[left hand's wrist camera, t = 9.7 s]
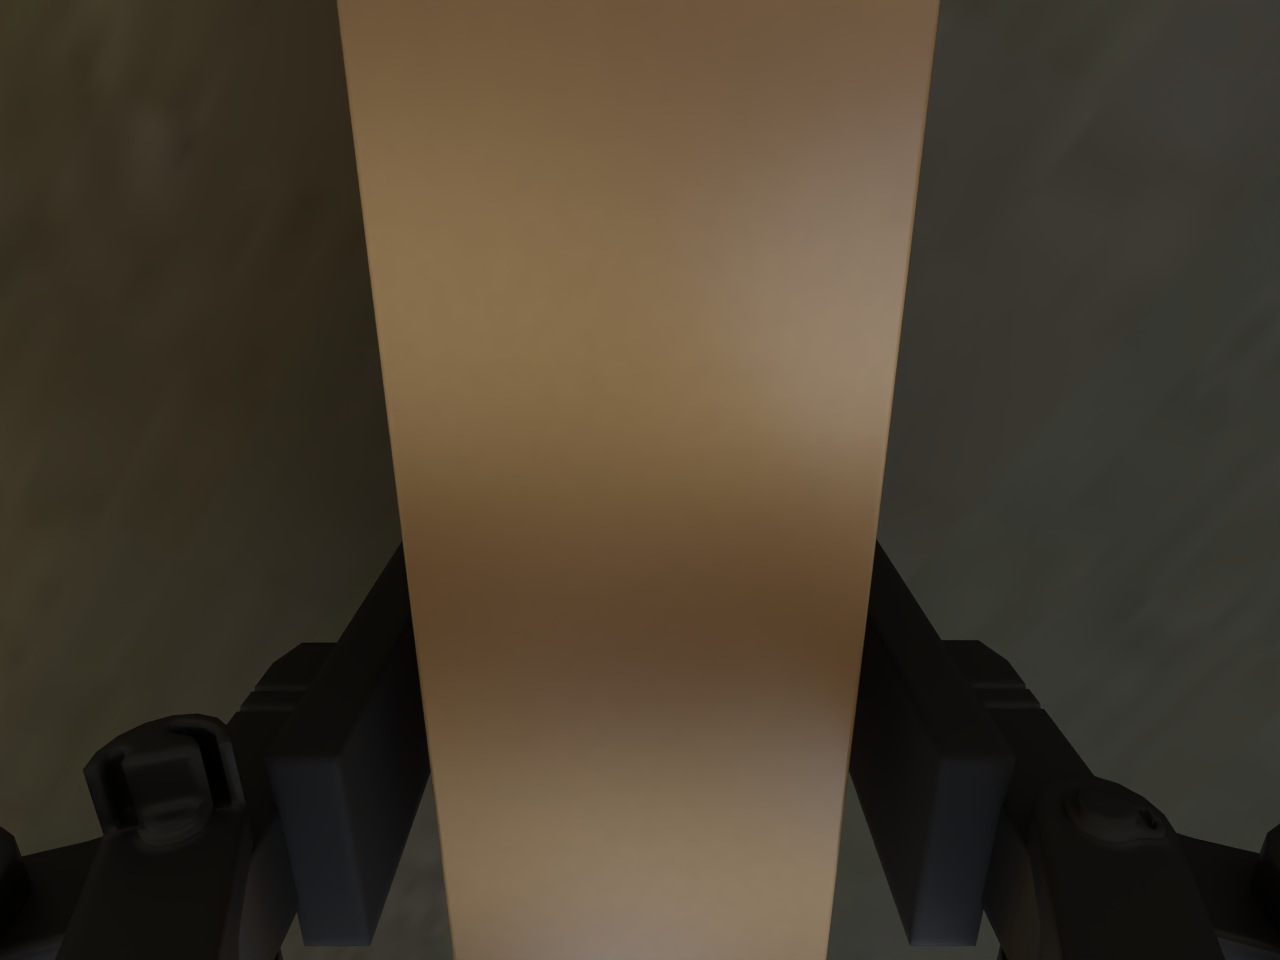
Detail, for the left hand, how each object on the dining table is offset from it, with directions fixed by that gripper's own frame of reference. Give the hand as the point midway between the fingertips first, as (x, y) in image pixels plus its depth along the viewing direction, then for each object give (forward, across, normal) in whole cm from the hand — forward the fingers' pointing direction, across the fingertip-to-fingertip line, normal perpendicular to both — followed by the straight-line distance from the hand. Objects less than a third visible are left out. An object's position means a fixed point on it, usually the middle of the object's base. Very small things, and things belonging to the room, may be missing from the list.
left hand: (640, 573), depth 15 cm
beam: (+2, 0, -28) cm, 28 cm away
